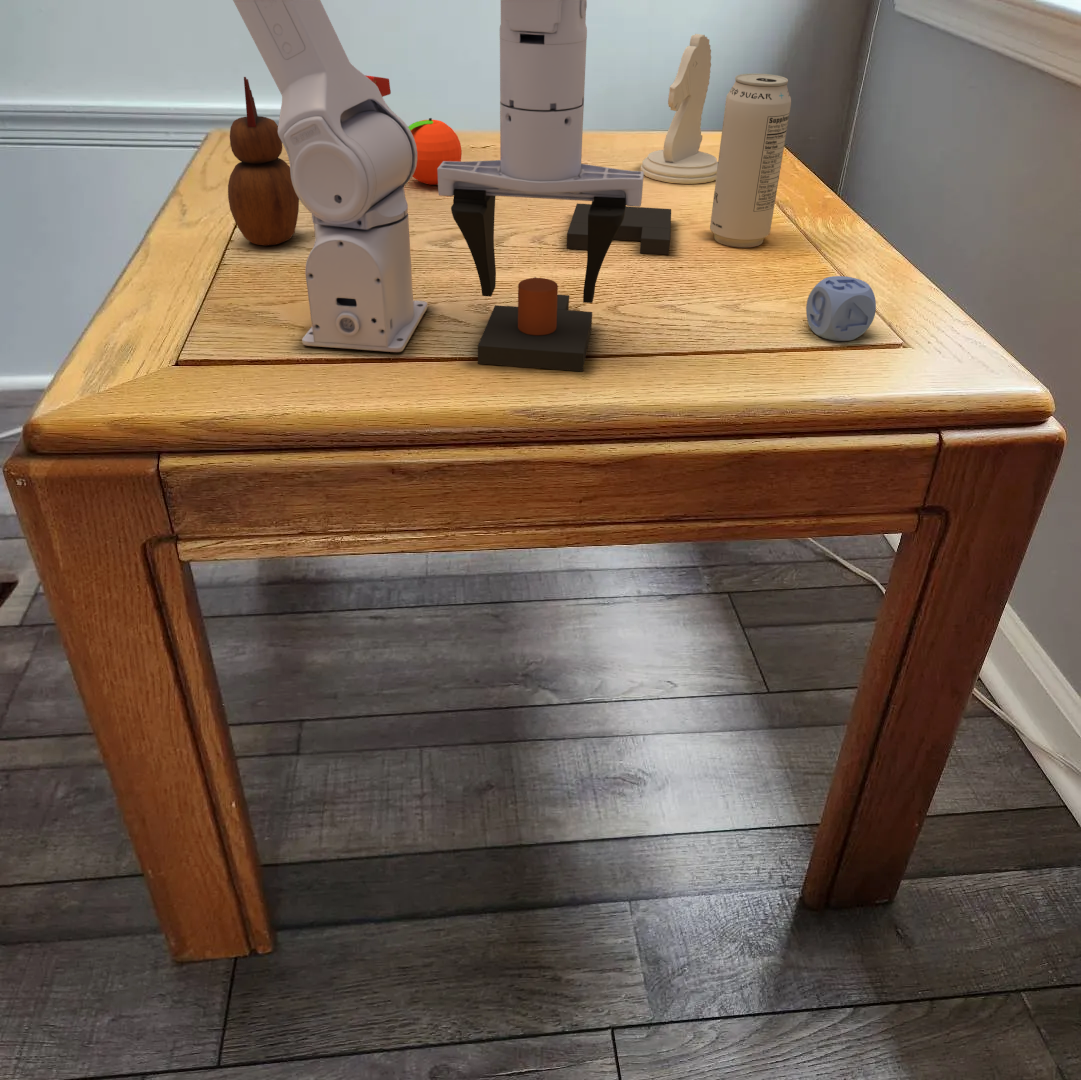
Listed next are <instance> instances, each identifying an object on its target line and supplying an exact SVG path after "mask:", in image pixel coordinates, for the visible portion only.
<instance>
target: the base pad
mask: <svg viewBox="0 0 1081 1080" xmlns="http://www.w3.org/2000/svg"><path fill="white" fill-rule="evenodd" d="M591 204H592V203H578V202H577V203H576V205H575V208H574V210H573V214H572V218H571V221H570V223H569V226H568V230H567V233H566V249H567V250H568V249H569V250H583V251H587V250H588V214H589V210H590V206H591ZM671 225H672V208H663V207H662V208H659V207H643V206H640V207H636V206H627V205H626V209H625V214H624V219H623V221H622V224H621V226H620V228H619V230H618V231H617V233H616V235H615V237H614V239H613V241H614V240H615V241H631V242H640V247H639V254H648V255H662V256H663V255H664V256H669V254H670V247H671V227H672V226H671Z"/></svg>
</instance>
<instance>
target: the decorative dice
mask: <svg viewBox="0 0 1081 1080" xmlns="http://www.w3.org/2000/svg"><path fill="white" fill-rule="evenodd" d="M806 300H807V301H806V308H805V312H806V319H807V324H808V326H809V329H810V330H811V331H812V332H813V333H814V334H815V335H816V336H818V337H820V338H823V339H826V340H829V341H834V342H835V341H836V342H848V341H849V342H850V341H853V340H856V339H858V338H859V337H861V336H862V335H863V334H865V333H866V331H868V329H870V327H871V325H872V323H873V321H874V319H875V316H876V310H877V302H876V295H875V292H874V291H873V289H872V287H871V285H870V284H869V283H868V282H866V281H864V280H862V279H860V278H857V277H851V276H846V275H845V276H843V275H833V276H827V277H825V278H822V279H821V280H820V281H819V282H817V283H816V285H814V287H813V288H812V289H811V291H810V293H809V294H808V297H807V299H806Z"/></svg>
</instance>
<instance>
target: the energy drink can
mask: <svg viewBox="0 0 1081 1080" xmlns="http://www.w3.org/2000/svg"><path fill="white" fill-rule="evenodd" d="M734 80H735V81H734V83H733V86H732V87H731V89H730V90H729V91H728V93H727V94H726V97H725V104H724V105H725V106H724V114H723V121H722V130H721V136H720V145H719V152H718V159H717V160H718V161H717V162H718V167H717V175H716V180H715V183H714V184H715V185H714V193H713V200H712V208H711V216H710V223H709V230H710V231H711V232H712V233H713V234H714V236H713V239H714V240H715V241H716V242H717V243H719V244H721V245H724V246H726V247H727V246H728V247H732V248H742V249H743V248H755V247H758V246H761V245H762V244H763V243H764V240H765V238H767V237H768V236H769V235H770V234H771V229H772V222H773V217H774V211H775V205H776V198H777V194H778V193H777V192H778V186H779V181H780V174H781V168H782V161H783V155H784V148H785V144H786V137H787V131H788V125H789V118H790V113H791V107H792V97H791V95H790V92H789V89H788V83H789V79H788V78H786V77H784V76H782V75H777V74H771V73H770V74H769V73H741V74H738V75H735V78H734Z"/></svg>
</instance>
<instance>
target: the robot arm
mask: <svg viewBox="0 0 1081 1080" xmlns="http://www.w3.org/2000/svg"><path fill="white" fill-rule="evenodd" d="M232 1H233V3H234V6H235V7H236V9H237V11H238V13H239V15H240V18H241V19H242V20H243V23H244V25H245V27H246V29H247V31H248V32H249V34H250V36H251V38H252V40H253V43H254V44H255V46H256V48H257V50H258V52H259V54H260V56H261V57H262V59H263V62H264V63H265V66H266V67H267V69H268V71H269V73H270V76H271V77H272V79H273V81H274V83H275V85H276V87H277V89H278V91H279V92H280V95H281V106H280V112H279V118H278V123H277V125H278V135H279V137H280V139H281V141H282V146H283V147H284V149H285V153H286V155H287V158H288V162H289V167H290V173H291V180H292V184H293V187H294V190H295V192H296V194H297V196H298V198H299V202H300V203H301V204H302V205H303V207H304V208H305V209H306V210H307V211H308V213H310V214H311V221H312V224H313V230H314V238H315V239H314V244H313V247H312V249H311V250H310V252H309V253H308V256H307V259H306V262H305V269H304V270H305V280H306V289H307V297H308V305H309V306H308V307H309V311H310V312H309V313H310V321H311V327H310V328H309V329H308V330H307V332H306V333H305V335H304V336H302V338H301V342H302V343H301V344H302V345H303V346H308V347H322V348H335V349H347V350H360V351H361V350H362V351H374V352H387V353H389V352H390V353H401V352H403V351H404V350H405V348H406V346H407V344H408V343H409V340H410V339H411V337H412V336H413V334H414V332H415V331H416V329H417V326H418V325H419V323H420V322H421V320H422V318H423V316H424V314H425V313H426V311H427V310H428V302H427V301H424V300H414V289H413V288H414V287H413V271H412V254H411V253H412V252H411V237H410V235H411V234H410V221H409V219H410V218H409V205H408V201H407V199H406V189H405V187H406V185H407V184H408V183H409V182H410V181H411V179H412V178H413V177H412V176H413V174H414V172H415V169H416V166H417V147H416V143H415V140H414V137H413V135H412V133H411V131H410V129H409V128H408V126H409V125H407V124H406V122H405V121H404V120H403V119H402V118H401V117H400V116H398V114H397V113H395V112H394V111H393V110H392V109H391V108H390V106H389V105H388V104H387V102H386V101H385V99H384V97H382V95H381V93H380V91H379V89H378V87H377V86H376V84H375V83H373V82H372V81H371V80H370V79H369V78H368V77H366V76H367V75H366V76H365V74H364V73H363V72H362V71H360V70H359V69H357V68H356V67H355V66H354V65H353V63H352V62H351V61H350V59H349V57H348V56H347V53H346V51H345V49H344V47H343V45H342V43H341V40H340V38H339V37H338V34H337V32H336V30H335V28H334V26H333V24H332V22H331V20H330V17H329V16H328V14H327V13H328V12H327V11H326V9H325V7H324V5H323V3H322V1H321V0H232ZM587 7H588V1H587V0H500V25H499V134H500V135H499V142H500V143H499V144H500V145H499V146H500V147H499V149H500V150H499V154H500V155H499V156H500V158H499V159H497V160H495V159H493V160H468V161H467V160H466V161H461V162H453V161H443V162H442V163H441V165H440V166H439V167H438V168H437V172H438V184H437V194H438V196H441V197H453V199H452V204H451V206H450V210H451V215H452V218H453V221H454V222H455V224H456V226H457V227H458V228H459V231H460V233H461V234H462V236H463V238H464V240H465V242H466V244H467V246H468V249H469V251H470V254H471V256H472V257H471V258H472V260H473V263H474V266H475V269H476V272H477V276H478V279H479V283H480V290H481V295H482V296H483V297H489V298H490V297H492V296H493V294H494V291H495V290H496V282H497V277H496V276H497V269H496V257H495V256H496V255H495V211H496V197H507V198H509V197H510V198H526V199H527V198H528V199H545V200H546V199H547V200H563V201H564V200H565V201H583V202H591V203H590V204H591V206H590V210H589V214H588V250H586V252H587V253H586V269H585V277H584V284H583V290H582V291H583V293H582V303H585V304H593V303H594V297H595V292H596V283H597V280H598V277H599V274H600V271H601V268H602V265H603V263H604V260H605V257H606V255H607V253H608V251H609V249H610V247H611V245H612V243H613V241H614V240H613V239H614V237H615V235H616V233H617V231H618V230H619V228H620V226H621V224H622V221H623V219H624V214H625V209H626V206H628V207H642V200H643V189H644V188H643V187H644V177H645V175H644V172H643V171H641V170H639V171H638V170H629V169H620V168H614V167H606V166H601V165H600V166H599V165H593V164H588V163H587V164H586V163H582V156H583V133H584V132H583V131H584V111H585V109H584V107H585V85H586V81H585V80H586V65H587V64H586V61H587V39H588V38H587V37H588V29H587V24H586V21H587V19H586V16H587V9H588V8H587Z"/></svg>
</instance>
